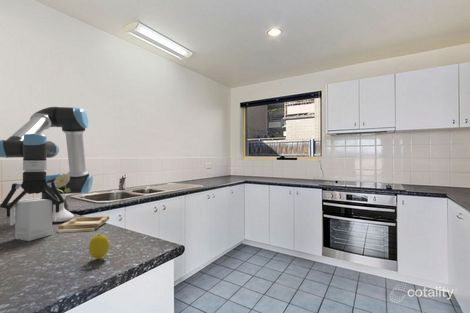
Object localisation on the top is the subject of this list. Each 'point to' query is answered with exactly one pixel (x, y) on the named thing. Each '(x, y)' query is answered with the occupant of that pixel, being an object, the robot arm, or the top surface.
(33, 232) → the supplement box
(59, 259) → the top surface
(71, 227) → the tray
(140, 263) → the top surface
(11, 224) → the robot arm
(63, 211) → the flower in vase
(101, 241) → the lemon
